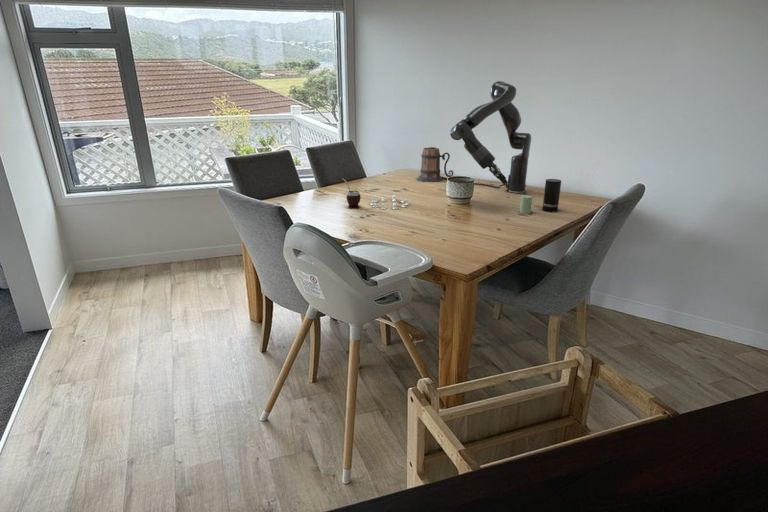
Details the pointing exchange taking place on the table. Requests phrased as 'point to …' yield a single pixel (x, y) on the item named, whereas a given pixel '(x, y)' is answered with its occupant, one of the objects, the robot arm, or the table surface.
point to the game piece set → (392, 200)
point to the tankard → (432, 165)
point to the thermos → (551, 195)
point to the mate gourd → (352, 197)
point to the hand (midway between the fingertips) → (505, 181)
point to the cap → (525, 204)
